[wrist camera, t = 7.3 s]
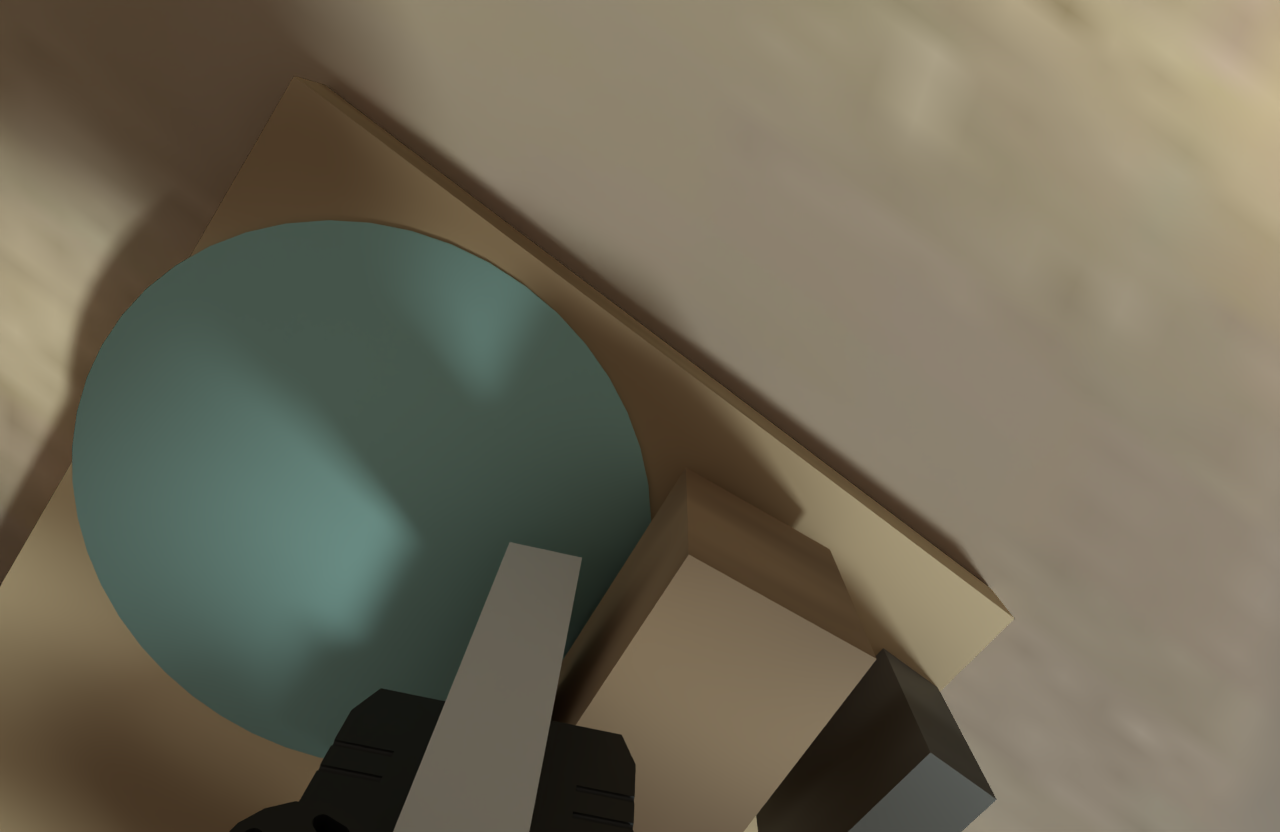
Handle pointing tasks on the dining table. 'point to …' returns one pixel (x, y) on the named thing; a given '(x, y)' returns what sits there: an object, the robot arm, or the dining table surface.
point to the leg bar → (714, 658)
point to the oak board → (670, 442)
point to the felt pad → (340, 467)
